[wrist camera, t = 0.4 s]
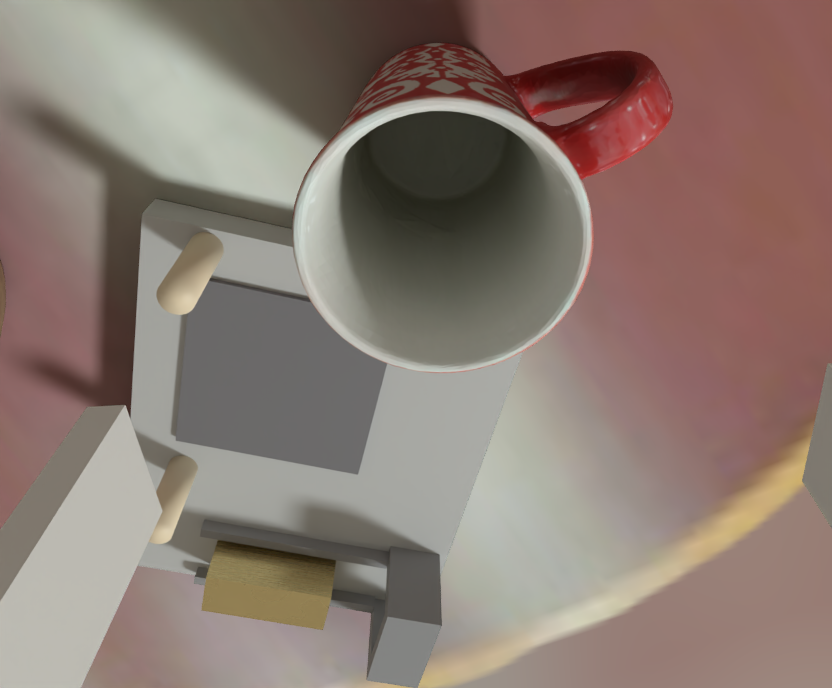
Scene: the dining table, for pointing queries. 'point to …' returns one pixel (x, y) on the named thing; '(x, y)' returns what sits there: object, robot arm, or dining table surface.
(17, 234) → the dining table surface
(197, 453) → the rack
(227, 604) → the tan rectangular block
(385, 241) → the mug
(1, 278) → the white ceramic vase
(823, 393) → the robot arm
